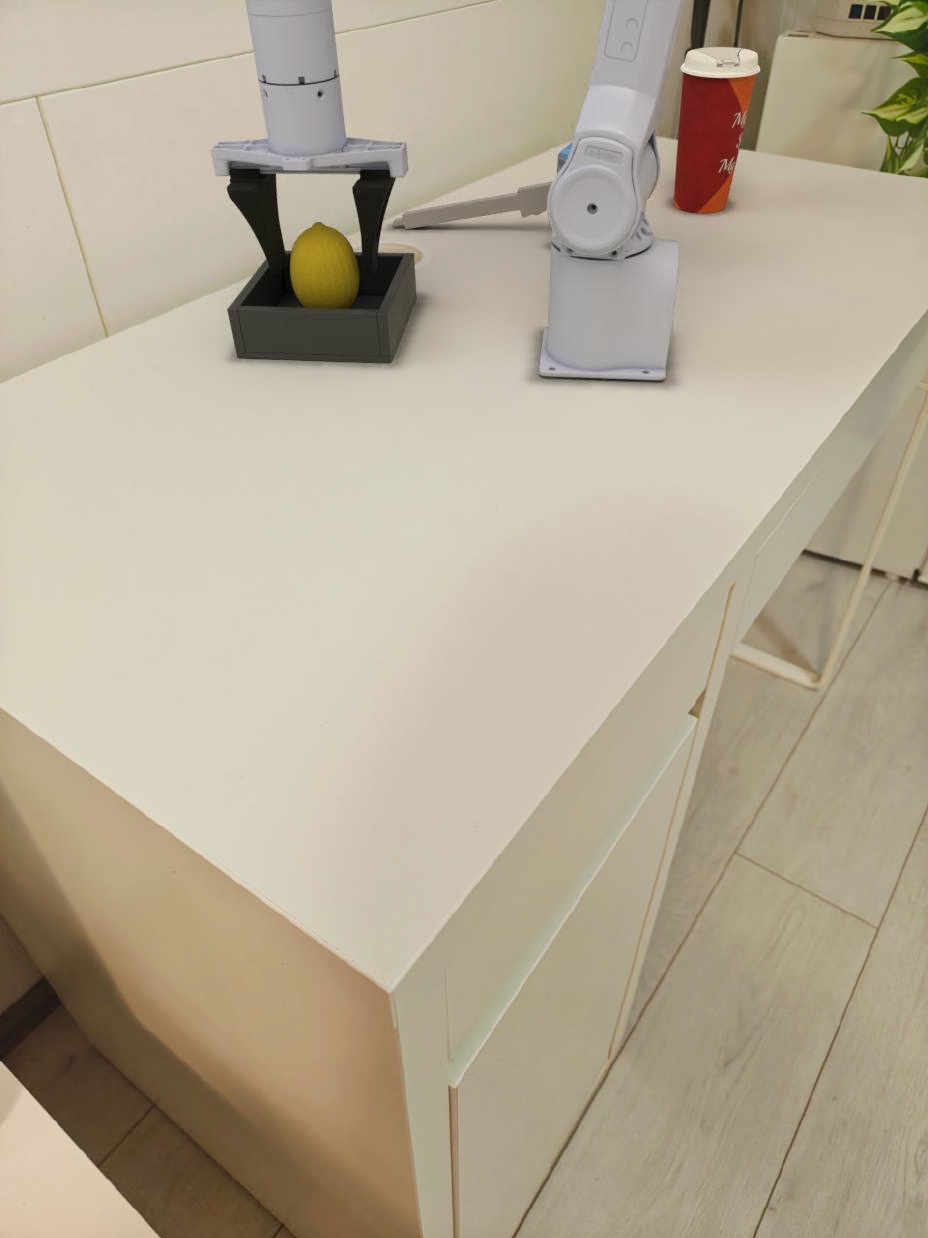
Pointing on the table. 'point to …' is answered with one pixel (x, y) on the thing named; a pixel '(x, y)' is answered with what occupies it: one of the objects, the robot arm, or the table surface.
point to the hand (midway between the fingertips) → (324, 270)
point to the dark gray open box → (325, 316)
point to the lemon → (324, 268)
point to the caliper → (481, 207)
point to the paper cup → (711, 124)
